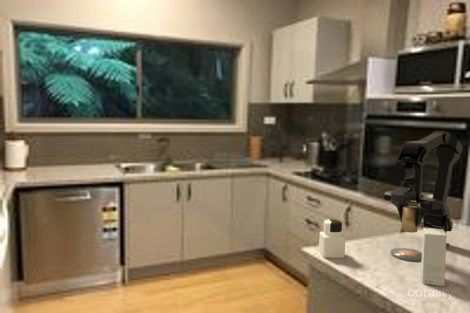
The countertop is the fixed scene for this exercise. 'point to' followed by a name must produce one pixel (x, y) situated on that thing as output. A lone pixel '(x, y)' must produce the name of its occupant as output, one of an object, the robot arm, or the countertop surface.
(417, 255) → the coaster
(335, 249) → the medicine bottle
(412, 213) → the oak canister
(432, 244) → the skincare box
